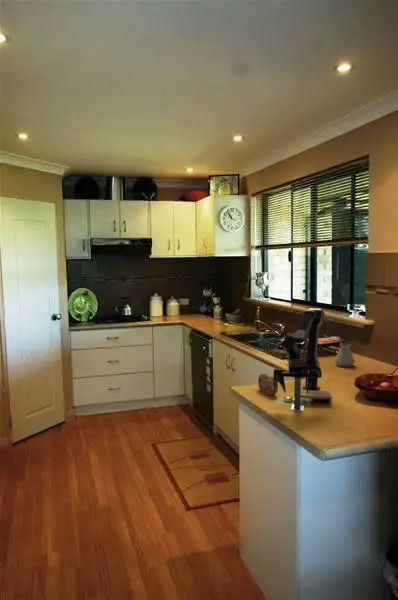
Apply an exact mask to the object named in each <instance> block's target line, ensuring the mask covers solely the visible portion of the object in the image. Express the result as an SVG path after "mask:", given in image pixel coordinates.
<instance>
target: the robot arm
mask: <svg viewBox="0 0 398 600" xmlns="http://www.w3.org/2000/svg"><path fill="white" fill-rule="evenodd" d="M325 316H326V313H325V311H324V310H323V308H314V307H313V308H311V307H310V308H308V309H304V311H303V315H302V319H301V321H300V324H299V326H298V329H297V330H296V331H295V332H294V333H292V335H289V336H288V337H286V338H284V340H282V342H281V345H282V348H283V349H284V352H285V354H286V355H287V359H288V360H287V362H288V363H287V365H288V371H287V372H286V371H284V369H283V368H274V369H273V375H272V377H273V380H276V382H278V384H279V385H280V387H281V389H282V390H283V392H284V393H286V384H285V378H295V377H301V378H305V386H303V387H302V390H303V389H304V390H307V394H308V391H318V390H319V389H320V390H321V386H318V385H319V384H318V383H319V382H318V381H319V380H318V379H321V378H322V377H323V371H322V368H321V366H320V361H319V359H318V345H319V344H318V343H319V342H318V341H319V333H320V327H321V326H322V324H323V323H324V319H325V318H326V317H325ZM306 348H307V349H306ZM302 350H303V351H304V350H306V356H305V357H302Z"/></svg>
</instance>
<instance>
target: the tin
mask: <svg viewBox="0 0 398 600" xmlns="http://www.w3.org/2000/svg"><path fill="white" fill-rule="evenodd" d="M257 384H258V388H259V390H260V391H261V392H263V393H265V394H267V395H268V396H274V395H276V394H277V393H278V389H279V382H276V380H273V375H272V376H271V375H270V374H267V373H260V374H259V376H258V379H257Z"/></svg>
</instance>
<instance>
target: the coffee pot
mask: <svg viewBox="0 0 398 600" xmlns="http://www.w3.org/2000/svg"><path fill="white" fill-rule="evenodd" d="M338 340H339V342H340V343H339V346H340V348H339V350H338V352H337V355H336V356H335V358H334V362H335V364H337V366H338V365H340V366H339V367H342V366H351V367H352V366H353V365H354V364H355V362H356V361H355V358H354V355H353V353H352V351H351V349H350V347H351V346H352V344H351V343H344V342H343V340H342V337H341V336H338Z"/></svg>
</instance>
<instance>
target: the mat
mask: <svg viewBox="0 0 398 600" xmlns="http://www.w3.org/2000/svg"><path fill="white" fill-rule="evenodd" d="M305 399H306V401H305V405H304V406H309V407H311V406H312V405H311V401H310V398H305ZM276 404H277V405H285V406H286V405H287V406H292V404H293V402H284V397H276Z"/></svg>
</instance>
